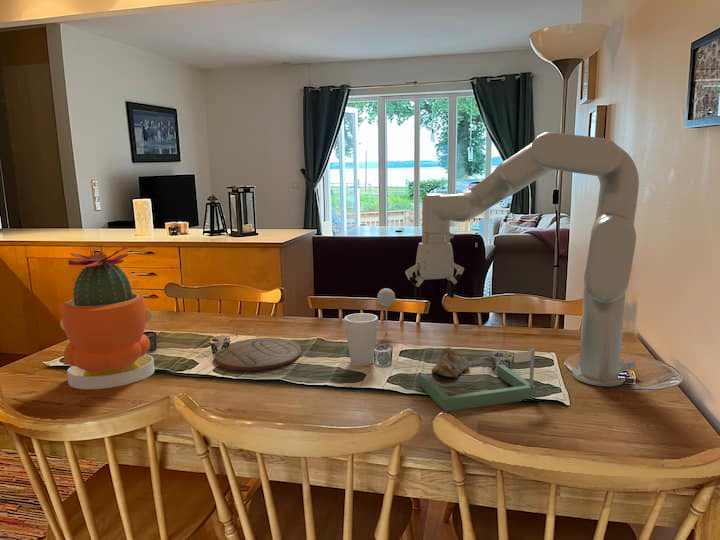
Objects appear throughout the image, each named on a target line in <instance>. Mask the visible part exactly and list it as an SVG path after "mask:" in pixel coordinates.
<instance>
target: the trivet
mask: <svg viewBox="0 0 720 540" xmlns="http://www.w3.org/2000/svg"><path fill="white" fill-rule="evenodd" d="M229 344H230V345H229V347H228V348H226V349H222V350H219V349H217V351H216V352H215V353H214V361H215V364H216V365H217V366H218V368H219V367H220V368H221V369H224V370H228V371H232V372H239V373H240V372H242V373H255V372H266V371H271V370H277V369H280V368H283V367H286V366H289V365H291V364H293V363H295V362H296V361H298V360H299V358H300V357H301V354H302V350H301V349H302V348H301V347H300V345H299V344H298V343H297V342H296V341H292V340H290V339H284V338H276V337H257V338H248V339H243V340H238V341H236V342H235V341H233V342H231V343H229Z"/></svg>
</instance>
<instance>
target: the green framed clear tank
mask: <svg viewBox="0 0 720 540" xmlns="http://www.w3.org/2000/svg"><path fill="white" fill-rule="evenodd" d="M535 351H536V349H533V348H531V349H530V350H526V351H525V350H524V351H517V352H513V363H514V364H515V363H516V364H517V363H523V362H530V364H529V365H530V366H529V368H530V369H529V381H528V380H526V379H525V378H523V377H522V376H520V375H519V374H518V373H516V372H515V371H513V370H512V369H510V368H509V367H508V366H506V365H504V364H497V365H496V366H497V367H496V376H497V377H498V376H499V377H500V380H502V379H503V380H504V381H503V380H502V381H503V382H505V381H506V382H507V383H506V382H505V383H506V384H508V383H509V384H510V385H512V386H513V387H512V386H510V385H509V384H508V385H509V386H510V387H504V388H496V389H490V390H482V391H473V392H467V393H460V394H459V393H458V394H453V395H448V394H447V393H446V391H444V390H443V389H442V388H441V387H440V386H439V385H438V384H437V383H436V382H435V381H434V380H433V379H432V378H431V377H429V375H428V374H426V373H422V374H419V386H420V387H421V388H422V390H424V391H425V393H426V394H428V396H429V397H430V398H431V400H433V401H434V402H435V403H436V404H437V405H438V406H439V407H440V408H441V409H442V411H444V412H455V411H460V410H467V409H468V410H469V409H475V408H481V407H488V406H489V407H490V406H495V405H496V406H497V405H502V404H509V403H510V404H511V403H516V402H517V403H518V402H523V401H522V400H523V399H527V398H532V397H535V398H536V392H537V391H536V390H537V386H535V385H534V376H535V375H534V371H535V370H534V368H535ZM499 377H498V378H499Z"/></svg>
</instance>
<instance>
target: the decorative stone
mask: <svg viewBox="0 0 720 540" xmlns="http://www.w3.org/2000/svg"><path fill="white" fill-rule="evenodd" d="M469 364H470V363H469V358H467V357H466V356H464V355H463V354H461V353H459V352H456V351H455V350H454V349H453V348H451V347H445V348H443V350H442V351H441V353H440V360H439V361H438V362H437V364H436V365H435V366H434V367H433V368H431V372H432V373H434V374H437V375H439V376H443V377H446V378H454V379H457V378H458V375H460V374H461V373H462V372H463V371H464V372H465V371H467V369H468V368H469V366H470V365H469Z"/></svg>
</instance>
